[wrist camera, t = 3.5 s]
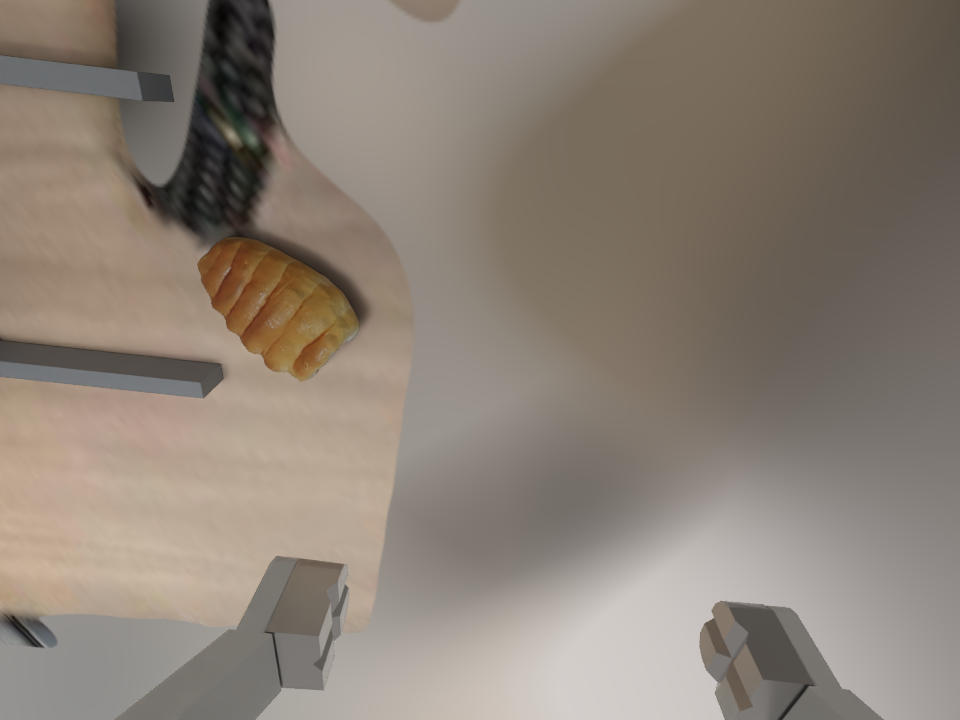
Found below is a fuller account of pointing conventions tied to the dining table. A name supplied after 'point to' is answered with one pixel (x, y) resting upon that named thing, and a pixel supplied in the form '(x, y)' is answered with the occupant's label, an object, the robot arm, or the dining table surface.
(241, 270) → the pastry
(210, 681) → the robot arm
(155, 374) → the corral
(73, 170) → the dining table surface
